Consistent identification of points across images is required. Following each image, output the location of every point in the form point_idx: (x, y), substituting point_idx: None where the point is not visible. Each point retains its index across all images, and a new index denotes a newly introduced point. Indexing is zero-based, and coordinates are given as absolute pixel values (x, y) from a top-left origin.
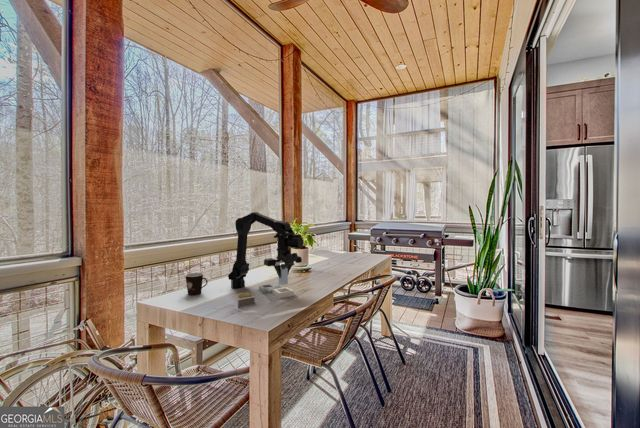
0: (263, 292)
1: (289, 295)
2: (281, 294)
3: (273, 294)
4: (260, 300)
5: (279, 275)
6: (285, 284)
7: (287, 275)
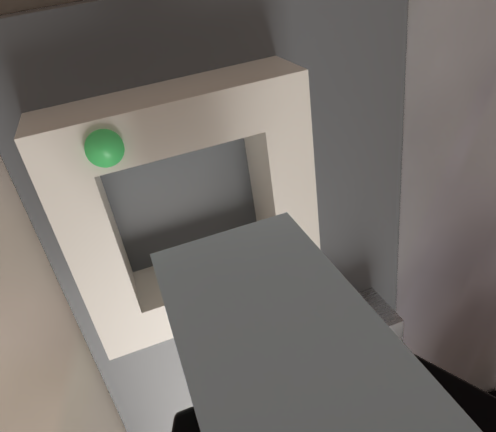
0: (377, 294)
1: (110, 96)
2: (264, 73)
3: None
4: (437, 137)
5: (443, 372)
6: (202, 239)
7: (204, 411)
